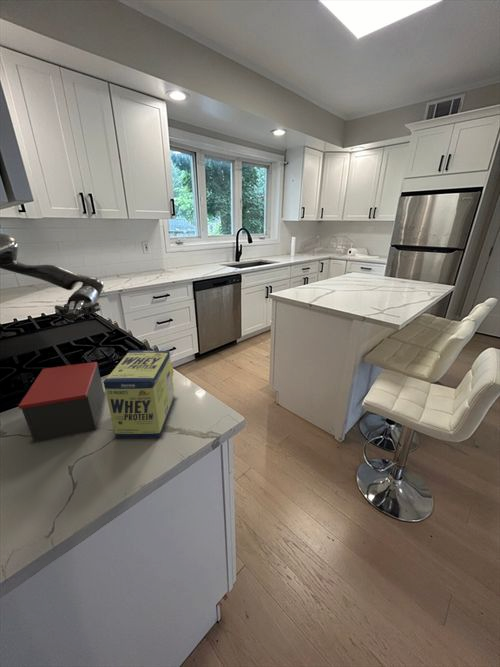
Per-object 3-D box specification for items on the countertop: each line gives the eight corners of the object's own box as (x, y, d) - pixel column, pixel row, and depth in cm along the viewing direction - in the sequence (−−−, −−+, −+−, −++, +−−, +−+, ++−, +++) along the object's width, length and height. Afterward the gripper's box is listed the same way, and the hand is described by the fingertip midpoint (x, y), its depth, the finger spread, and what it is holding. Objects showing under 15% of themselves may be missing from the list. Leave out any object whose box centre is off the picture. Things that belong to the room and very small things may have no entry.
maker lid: (86, 397, 62) (85, 394, 62) (19, 409, 58) (18, 406, 58) (97, 363, 76) (96, 361, 76) (43, 371, 72) (43, 368, 72)
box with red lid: (96, 429, 66) (87, 395, 63) (34, 442, 63) (20, 406, 59) (104, 393, 80) (97, 364, 76) (53, 402, 76) (43, 371, 72)
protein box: (115, 439, 64) (101, 381, 58) (138, 399, 78) (129, 349, 72) (160, 439, 64) (152, 381, 58) (175, 398, 78) (170, 349, 72)
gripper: (106, 309, 98) (99, 326, 83) (63, 313, 94) (48, 331, 79) (102, 289, 96) (94, 302, 81) (58, 291, 91) (41, 306, 76)
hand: (71, 316), depth 80 cm, fingers closed
